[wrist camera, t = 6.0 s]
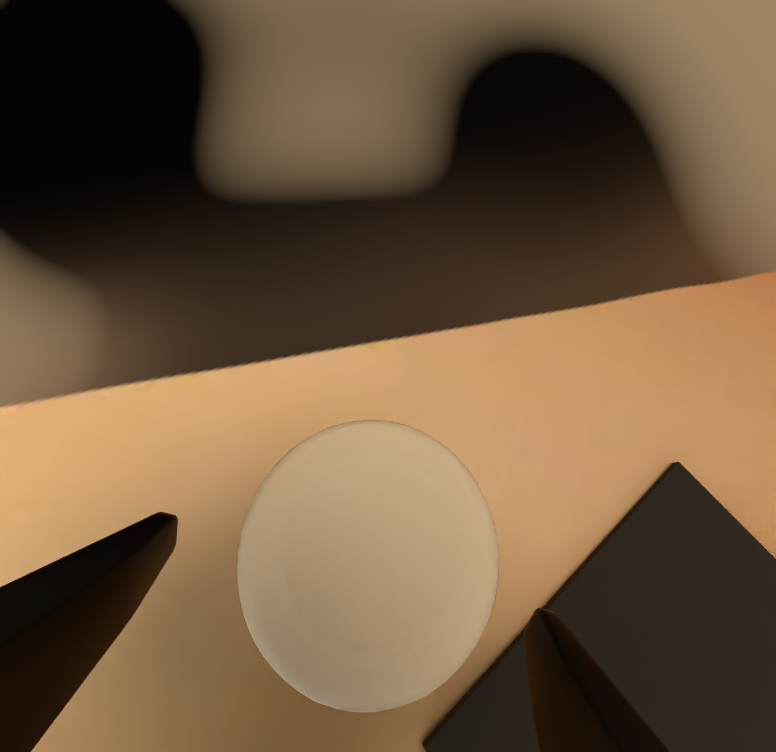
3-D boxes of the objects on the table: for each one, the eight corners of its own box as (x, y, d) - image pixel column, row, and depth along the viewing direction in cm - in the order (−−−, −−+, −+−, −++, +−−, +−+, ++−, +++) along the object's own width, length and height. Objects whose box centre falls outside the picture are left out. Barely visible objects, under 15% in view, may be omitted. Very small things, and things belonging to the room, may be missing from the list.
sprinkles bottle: (317, 489, 19) (277, 392, 7) (403, 504, 19) (510, 436, 7) (294, 589, 17) (181, 698, 5) (390, 604, 17) (506, 749, 5)
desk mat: (752, 1286, 11) (766, 1312, 11) (421, 743, 15) (423, 747, 15) (940, 731, 18) (952, 735, 17) (673, 462, 22) (678, 461, 22)
